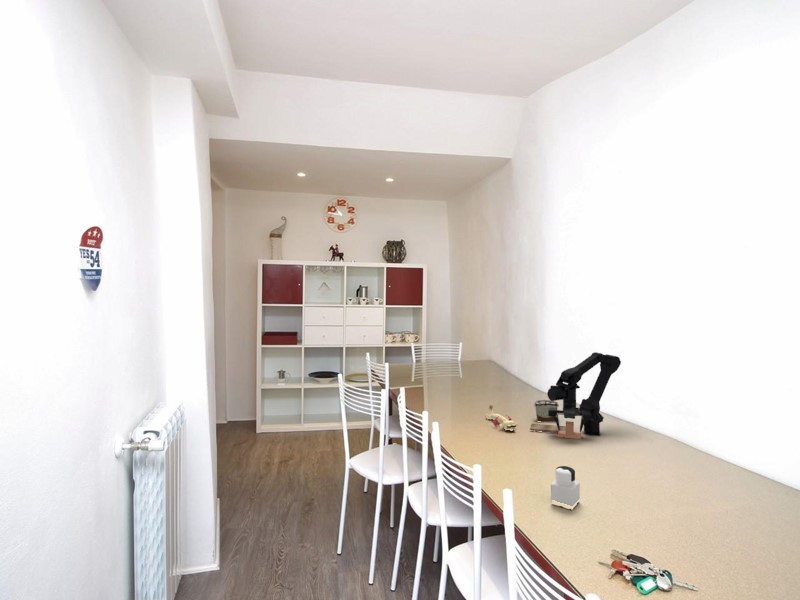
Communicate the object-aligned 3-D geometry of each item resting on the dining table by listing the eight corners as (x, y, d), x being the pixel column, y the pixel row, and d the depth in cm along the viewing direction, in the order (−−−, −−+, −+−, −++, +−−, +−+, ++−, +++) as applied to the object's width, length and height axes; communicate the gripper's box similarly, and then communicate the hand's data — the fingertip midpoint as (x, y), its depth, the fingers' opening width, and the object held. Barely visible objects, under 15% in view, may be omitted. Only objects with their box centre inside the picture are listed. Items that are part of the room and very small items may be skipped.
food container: (556, 418, 247) (556, 399, 247) (559, 422, 241) (558, 402, 241) (532, 418, 249) (532, 399, 248) (534, 422, 242) (534, 402, 242)
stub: (581, 435, 220) (581, 422, 220) (581, 439, 216) (581, 425, 215) (558, 433, 224) (558, 420, 223) (558, 437, 219) (558, 423, 219)
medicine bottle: (558, 496, 162) (558, 462, 161) (580, 502, 157) (579, 467, 157) (550, 504, 156) (550, 469, 156) (572, 511, 152) (572, 474, 151)
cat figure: (481, 422, 249) (503, 433, 225) (481, 405, 249) (502, 414, 225) (499, 420, 252) (522, 431, 227) (498, 403, 252) (521, 412, 228)
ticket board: (566, 429, 230) (566, 426, 230) (566, 434, 223) (566, 431, 223) (530, 426, 236) (530, 423, 236) (529, 431, 228) (529, 428, 228)
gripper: (547, 401, 214) (547, 435, 215) (591, 404, 208) (592, 439, 209) (548, 395, 225) (549, 427, 226) (591, 397, 218) (591, 431, 219)
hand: (569, 431), depth 220 cm, fingers open, 9 cm apart
